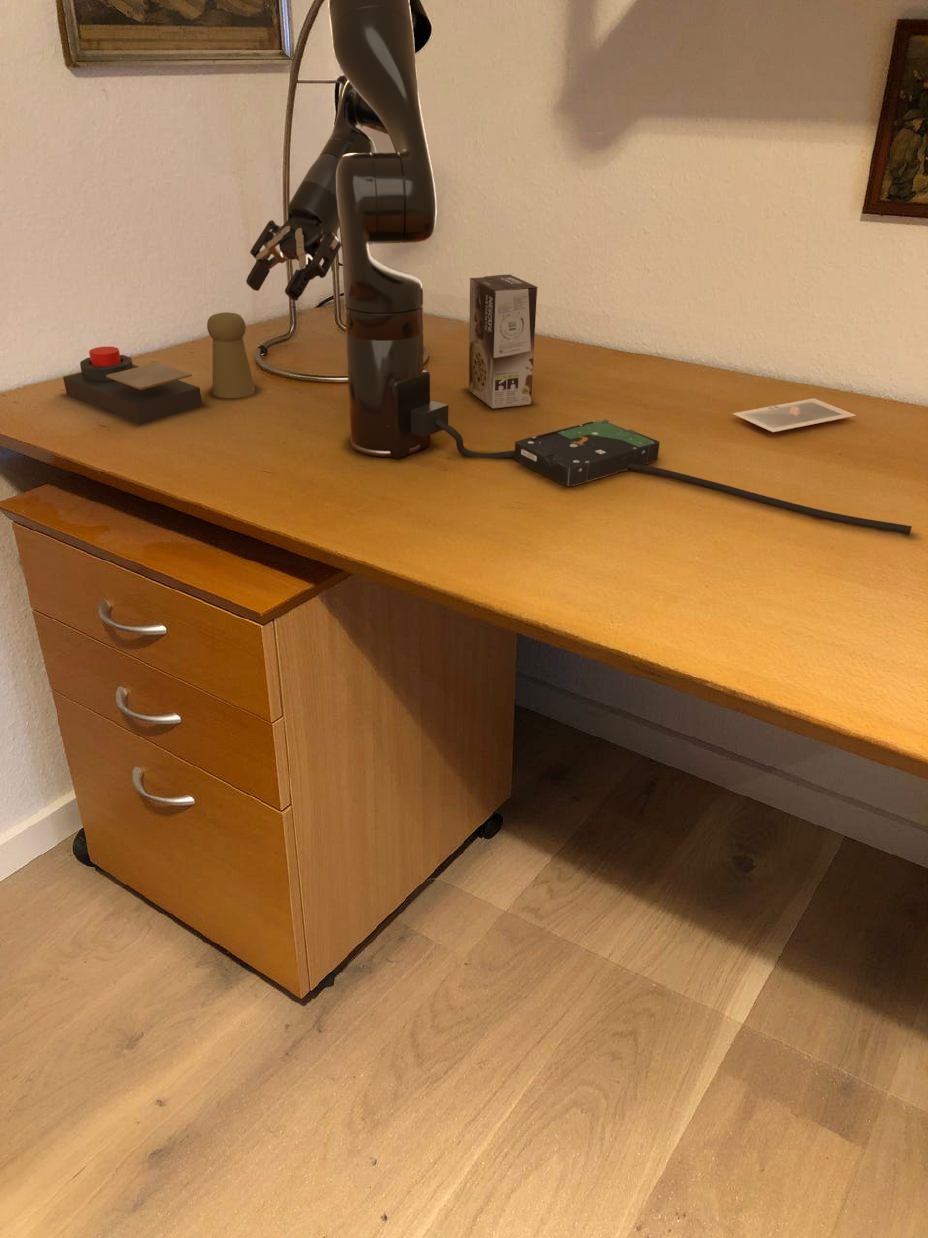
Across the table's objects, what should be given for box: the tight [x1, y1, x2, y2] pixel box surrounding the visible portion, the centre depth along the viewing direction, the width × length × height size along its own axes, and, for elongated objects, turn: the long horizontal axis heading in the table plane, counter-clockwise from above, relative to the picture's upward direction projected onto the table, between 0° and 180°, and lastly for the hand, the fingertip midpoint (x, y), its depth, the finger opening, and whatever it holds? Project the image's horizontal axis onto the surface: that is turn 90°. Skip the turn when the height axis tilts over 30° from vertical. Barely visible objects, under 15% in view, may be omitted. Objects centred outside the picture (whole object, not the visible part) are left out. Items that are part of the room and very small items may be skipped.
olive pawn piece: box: [206, 311, 256, 399], centre depth 133 cm, size 6×6×11 cm
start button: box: [88, 346, 121, 366], centre depth 133 cm, size 4×4×2 cm
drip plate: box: [106, 362, 193, 390], centre depth 127 cm, size 8×8×1 cm
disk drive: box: [513, 419, 661, 487], centre depth 115 cm, size 10×3×15 cm
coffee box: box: [468, 274, 538, 410], centre depth 132 cm, size 9×6×16 cm
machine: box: [62, 354, 203, 426], centre depth 131 cm, size 18×10×4 cm, turn 50°
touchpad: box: [731, 397, 857, 433], centre depth 128 cm, size 8×15×2 cm, turn 117°
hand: (270, 291), depth 135 cm, fingers open, 8 cm apart
